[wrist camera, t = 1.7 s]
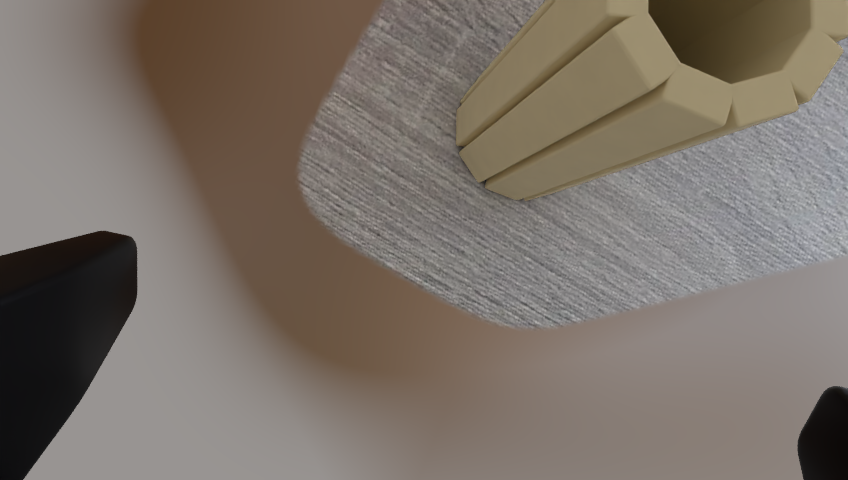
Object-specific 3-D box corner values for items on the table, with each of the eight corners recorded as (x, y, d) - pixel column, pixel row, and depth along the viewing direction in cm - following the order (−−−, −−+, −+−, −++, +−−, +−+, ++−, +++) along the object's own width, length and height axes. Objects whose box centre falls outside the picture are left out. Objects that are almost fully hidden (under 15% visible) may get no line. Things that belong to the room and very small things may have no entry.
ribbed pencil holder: (563, 218, 25) (812, 163, 13) (435, 169, 24) (568, 61, 12) (604, 95, 26) (882, -73, 13) (480, 43, 25) (650, -184, 13)
